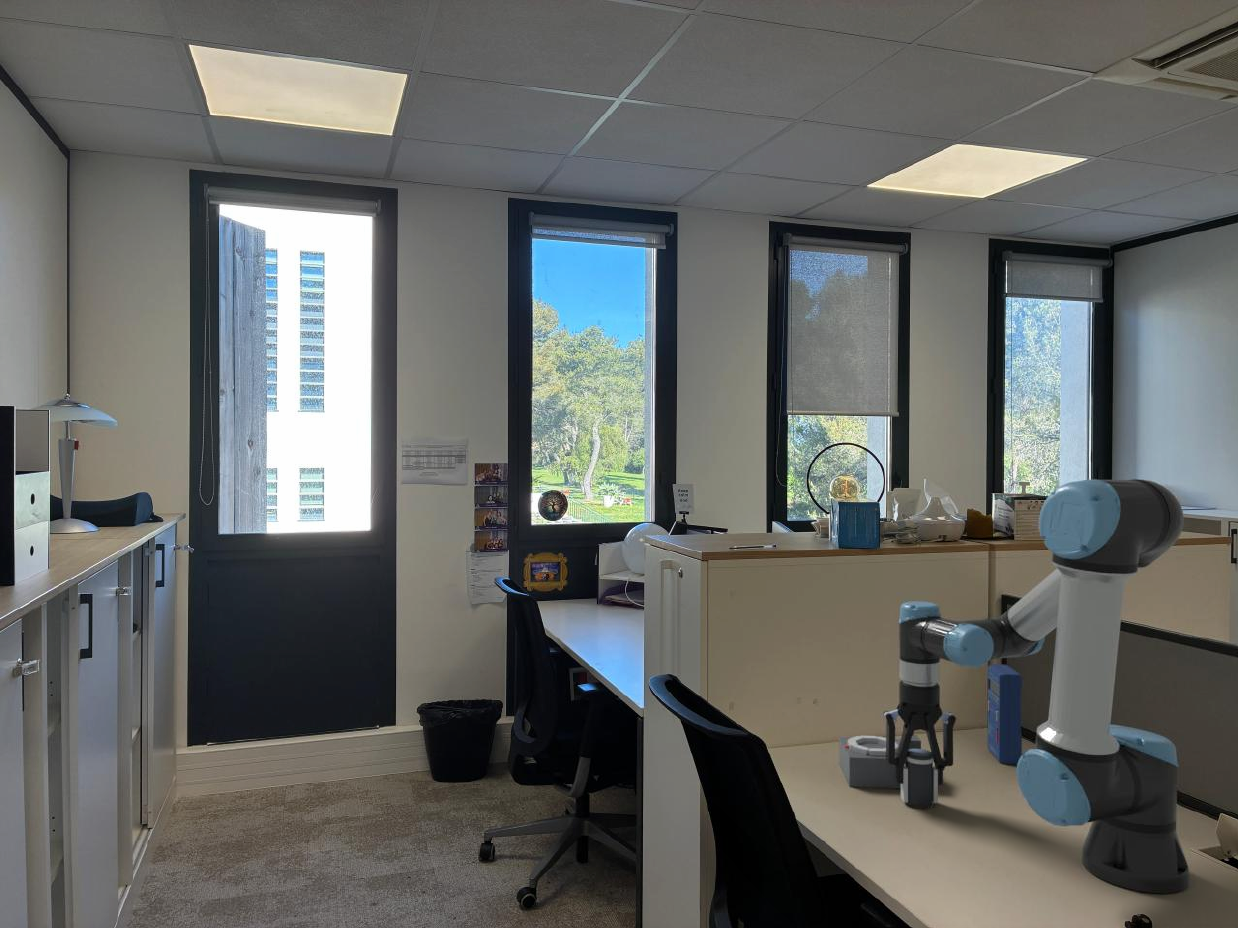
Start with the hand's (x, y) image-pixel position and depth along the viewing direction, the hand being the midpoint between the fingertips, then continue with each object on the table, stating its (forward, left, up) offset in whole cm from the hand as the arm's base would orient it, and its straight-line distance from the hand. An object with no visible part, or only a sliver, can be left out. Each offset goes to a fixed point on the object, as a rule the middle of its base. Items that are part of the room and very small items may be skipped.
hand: (919, 799), depth 173 cm
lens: (0, 0, -1) cm, 1 cm away
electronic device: (+29, -26, -1) cm, 39 cm away
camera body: (+15, +4, -1) cm, 15 cm away
